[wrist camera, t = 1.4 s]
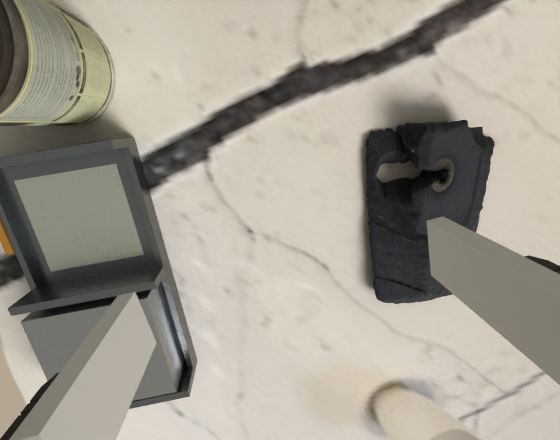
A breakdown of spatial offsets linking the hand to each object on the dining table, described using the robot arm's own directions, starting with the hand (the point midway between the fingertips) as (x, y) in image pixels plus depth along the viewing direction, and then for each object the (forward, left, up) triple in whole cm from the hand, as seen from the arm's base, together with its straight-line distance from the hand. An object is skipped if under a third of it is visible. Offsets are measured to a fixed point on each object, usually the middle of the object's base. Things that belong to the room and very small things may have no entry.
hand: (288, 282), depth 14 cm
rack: (+6, -19, -22) cm, 30 cm away
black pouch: (+7, +18, -23) cm, 30 cm away
